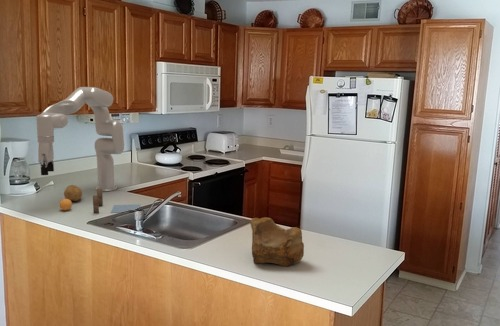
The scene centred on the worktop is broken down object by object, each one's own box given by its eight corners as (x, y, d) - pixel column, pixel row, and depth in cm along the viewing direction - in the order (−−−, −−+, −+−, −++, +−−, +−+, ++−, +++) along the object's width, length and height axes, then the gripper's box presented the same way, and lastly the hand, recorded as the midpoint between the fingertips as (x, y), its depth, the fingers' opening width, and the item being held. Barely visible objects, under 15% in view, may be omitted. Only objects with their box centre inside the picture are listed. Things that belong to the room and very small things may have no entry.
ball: (61, 208, 243) (60, 197, 242) (73, 208, 244) (72, 197, 243) (58, 212, 237) (57, 200, 236) (70, 211, 238) (70, 200, 237)
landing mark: (114, 205, 251) (114, 205, 251) (140, 204, 253) (140, 204, 253) (110, 212, 237) (110, 212, 237) (138, 212, 239) (138, 211, 239)
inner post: (98, 205, 250) (97, 188, 249) (103, 205, 251) (102, 188, 249) (97, 206, 248) (96, 190, 246) (102, 206, 248) (101, 190, 247)
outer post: (94, 212, 238) (93, 195, 236) (99, 212, 238) (98, 195, 236) (93, 213, 235) (92, 196, 233) (98, 213, 236) (97, 196, 234)
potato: (65, 204, 251) (64, 190, 249) (63, 198, 263) (62, 184, 261) (84, 202, 255) (84, 188, 253) (81, 196, 267) (80, 183, 266)
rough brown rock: (232, 261, 180) (231, 225, 176) (257, 245, 193) (257, 212, 189) (283, 279, 167) (283, 241, 163) (306, 261, 179) (307, 225, 175)
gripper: (43, 137, 240) (45, 170, 243) (32, 141, 223) (34, 176, 226) (58, 137, 241) (60, 170, 244) (48, 141, 224) (50, 176, 227)
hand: (47, 173), depth 235 cm, fingers open, 9 cm apart
